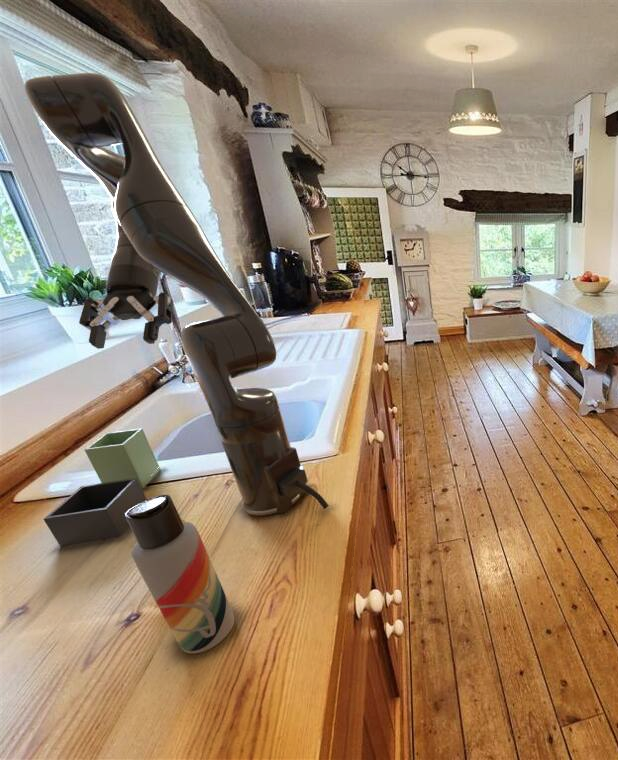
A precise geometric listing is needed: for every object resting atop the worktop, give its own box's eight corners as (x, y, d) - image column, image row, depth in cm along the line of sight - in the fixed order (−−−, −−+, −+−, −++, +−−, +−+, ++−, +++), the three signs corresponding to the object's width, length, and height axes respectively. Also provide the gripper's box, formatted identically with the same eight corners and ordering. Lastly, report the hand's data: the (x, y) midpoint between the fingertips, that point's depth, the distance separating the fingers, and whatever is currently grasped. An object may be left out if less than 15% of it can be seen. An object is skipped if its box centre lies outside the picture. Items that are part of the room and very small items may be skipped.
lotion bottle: (193, 664, 47) (123, 530, 39) (172, 639, 50) (102, 510, 42) (244, 624, 51) (190, 496, 43) (221, 603, 54) (167, 480, 46)
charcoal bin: (96, 513, 72) (81, 486, 69) (150, 505, 73) (136, 477, 71) (61, 548, 64) (43, 519, 62) (122, 538, 66) (106, 509, 63)
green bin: (127, 476, 82) (106, 432, 78) (161, 471, 83) (142, 428, 79) (107, 495, 76) (84, 449, 72) (144, 489, 77) (123, 444, 73)
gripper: (78, 265, 79) (62, 339, 73) (162, 260, 82) (152, 330, 76) (108, 288, 86) (95, 357, 80) (184, 282, 89) (177, 349, 83)
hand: (123, 344), depth 78 cm, fingers open, 8 cm apart
